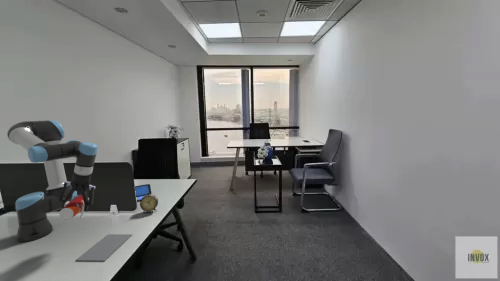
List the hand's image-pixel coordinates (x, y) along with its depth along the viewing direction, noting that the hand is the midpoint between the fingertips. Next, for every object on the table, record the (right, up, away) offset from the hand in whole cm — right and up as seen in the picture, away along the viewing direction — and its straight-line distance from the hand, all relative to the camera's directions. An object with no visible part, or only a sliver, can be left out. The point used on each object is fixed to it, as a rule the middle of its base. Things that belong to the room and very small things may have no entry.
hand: (73, 215), depth 116 cm
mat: (+18, -16, -1) cm, 23 cm away
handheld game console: (+4, -8, +64) cm, 65 cm away
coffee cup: (+3, +3, -8) cm, 9 cm away
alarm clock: (+22, -11, +40) cm, 46 cm away
